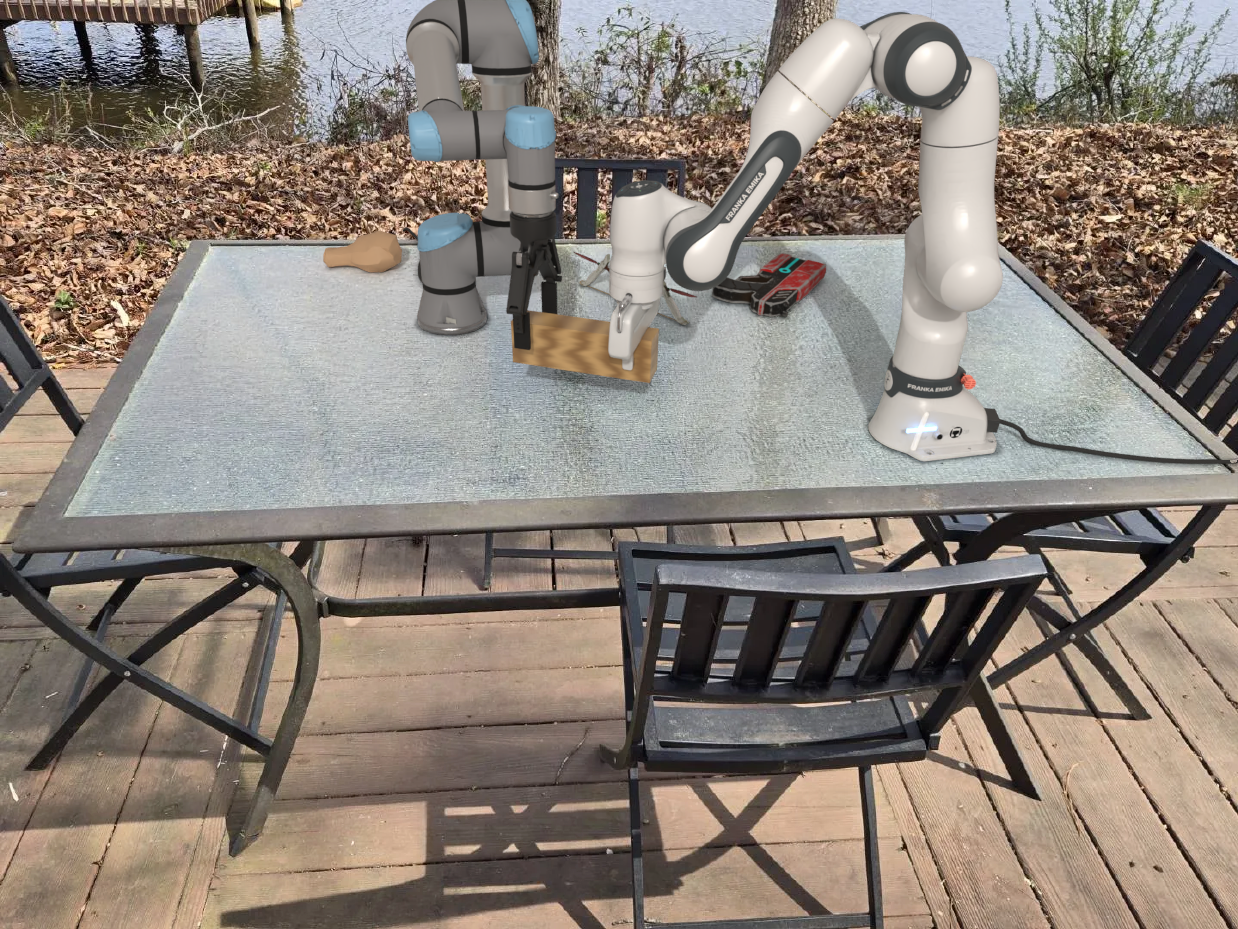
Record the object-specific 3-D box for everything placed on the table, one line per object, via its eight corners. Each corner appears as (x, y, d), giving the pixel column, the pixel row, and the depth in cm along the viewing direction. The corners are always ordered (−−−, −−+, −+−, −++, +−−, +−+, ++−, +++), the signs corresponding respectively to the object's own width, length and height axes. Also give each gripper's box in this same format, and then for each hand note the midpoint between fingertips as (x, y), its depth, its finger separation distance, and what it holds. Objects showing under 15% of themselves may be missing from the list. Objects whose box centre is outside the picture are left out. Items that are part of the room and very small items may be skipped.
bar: (512, 362, 155) (510, 321, 150) (523, 349, 159) (521, 309, 155) (649, 383, 149) (651, 341, 145) (657, 369, 154) (659, 328, 149)
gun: (708, 284, 207) (784, 305, 199) (760, 245, 229) (831, 262, 221) (706, 302, 209) (781, 323, 201) (758, 261, 231) (828, 278, 223)
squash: (402, 276, 219) (391, 244, 212) (324, 283, 220) (312, 251, 214) (409, 253, 226) (400, 222, 220) (335, 261, 228) (323, 229, 222)
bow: (697, 327, 197) (701, 285, 192) (692, 329, 196) (696, 287, 191) (576, 279, 219) (576, 241, 213) (571, 281, 218) (571, 242, 212)
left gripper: (527, 237, 130) (531, 365, 142) (578, 192, 151) (579, 307, 162) (480, 232, 132) (488, 359, 144) (537, 188, 152) (541, 302, 164)
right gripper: (638, 310, 134) (635, 390, 142) (668, 264, 151) (664, 337, 158) (599, 305, 136) (598, 384, 143) (633, 260, 152) (631, 333, 160)
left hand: (536, 332), depth 153 cm, fingers open, 13 cm apart
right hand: (633, 359), depth 151 cm, fingers closed on bar, 5 cm apart
